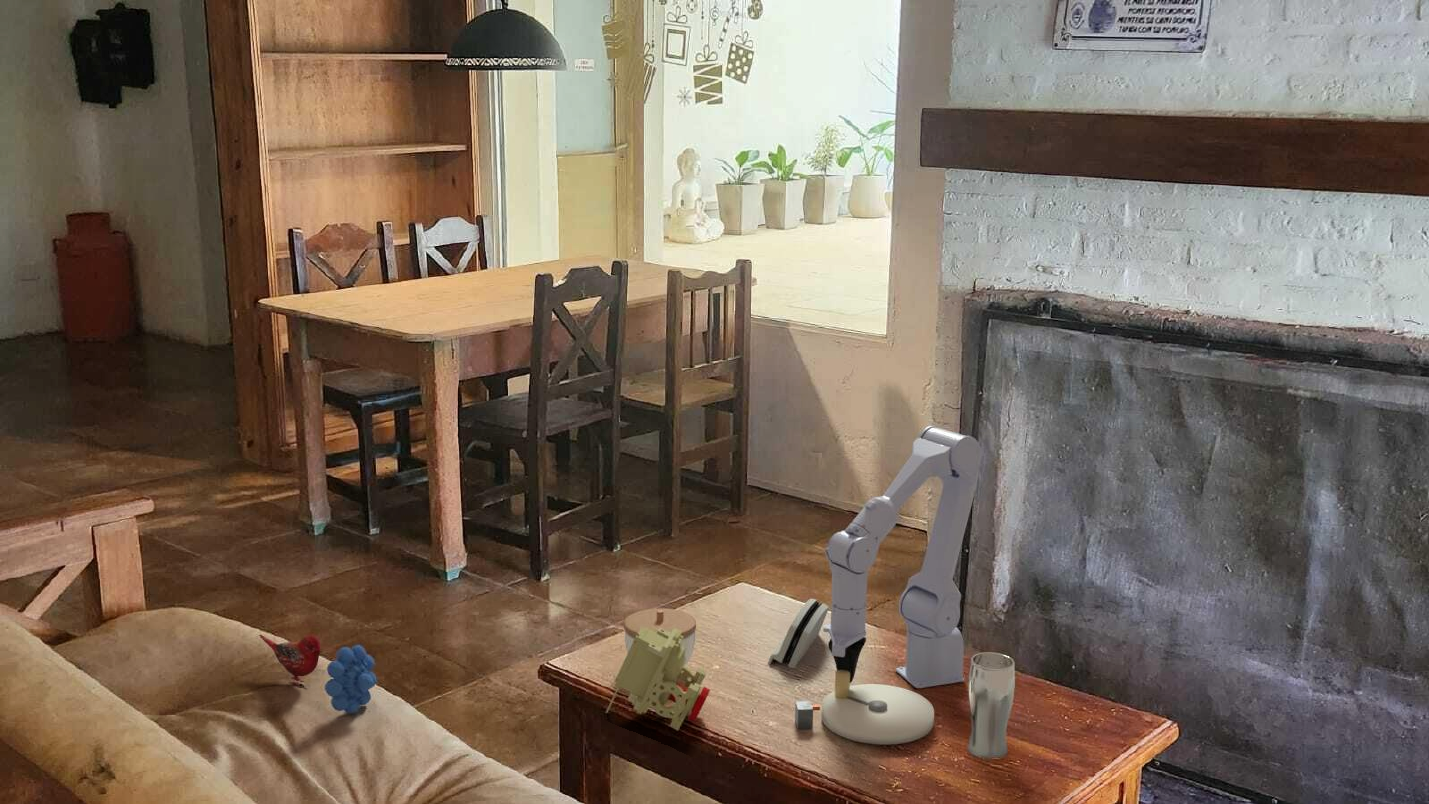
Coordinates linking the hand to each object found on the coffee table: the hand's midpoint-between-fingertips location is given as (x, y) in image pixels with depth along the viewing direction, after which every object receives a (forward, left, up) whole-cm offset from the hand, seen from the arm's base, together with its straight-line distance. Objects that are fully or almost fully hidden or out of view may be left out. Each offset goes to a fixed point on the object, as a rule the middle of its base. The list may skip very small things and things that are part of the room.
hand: (846, 680), depth 222 cm
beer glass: (-14, +22, -4) cm, 27 cm away
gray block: (+10, +5, -4) cm, 12 cm away
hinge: (-2, -23, -4) cm, 23 cm away
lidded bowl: (+25, -23, -4) cm, 34 cm away
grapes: (+77, -22, -4) cm, 80 cm away
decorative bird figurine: (+87, -38, -4) cm, 95 cm away
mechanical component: (+29, -3, -4) cm, 29 cm away
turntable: (-2, +8, -4) cm, 9 cm away
